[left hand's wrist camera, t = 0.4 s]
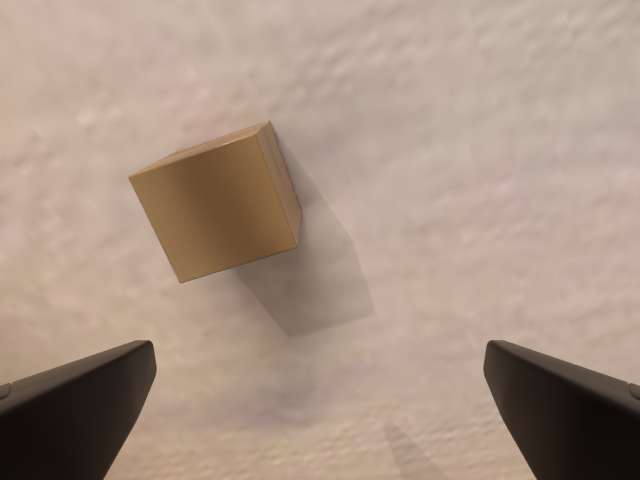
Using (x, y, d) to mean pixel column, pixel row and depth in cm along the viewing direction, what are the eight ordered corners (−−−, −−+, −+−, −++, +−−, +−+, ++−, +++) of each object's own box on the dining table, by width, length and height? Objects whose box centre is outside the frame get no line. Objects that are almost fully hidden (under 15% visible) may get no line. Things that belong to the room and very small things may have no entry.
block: (208, 241, 22) (179, 284, 18) (170, 154, 21) (127, 176, 16) (302, 211, 22) (297, 247, 17) (269, 120, 20) (255, 133, 16)
